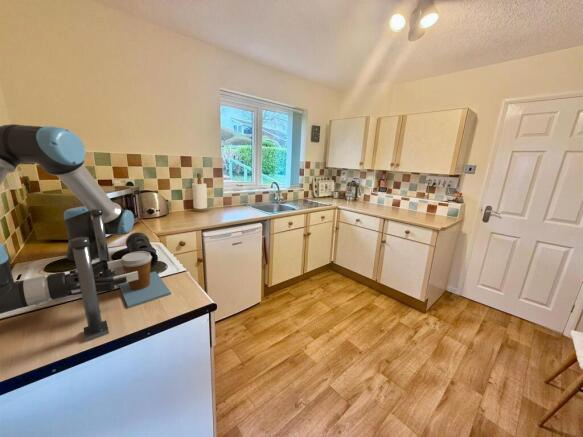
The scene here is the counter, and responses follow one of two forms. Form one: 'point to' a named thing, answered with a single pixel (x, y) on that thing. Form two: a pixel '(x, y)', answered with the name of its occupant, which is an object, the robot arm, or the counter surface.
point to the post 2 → (101, 242)
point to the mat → (145, 291)
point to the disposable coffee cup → (138, 268)
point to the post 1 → (88, 289)
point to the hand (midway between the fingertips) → (133, 267)
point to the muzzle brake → (141, 246)
